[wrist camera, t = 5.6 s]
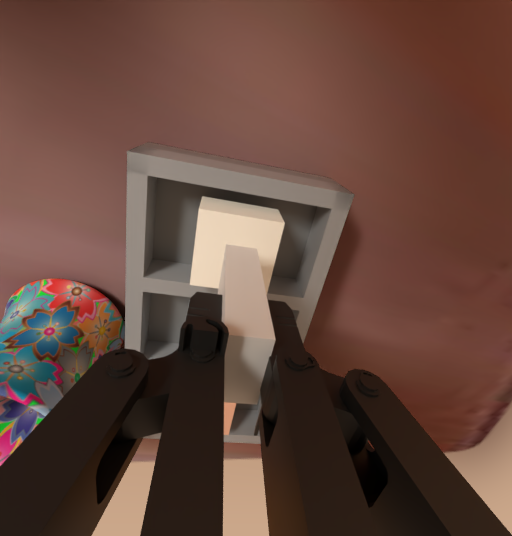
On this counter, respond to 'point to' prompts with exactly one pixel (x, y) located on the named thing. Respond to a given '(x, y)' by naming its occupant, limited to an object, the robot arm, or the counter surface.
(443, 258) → the counter surface
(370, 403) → the robot arm
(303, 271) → the grey compartment tray
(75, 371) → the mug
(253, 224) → the key
